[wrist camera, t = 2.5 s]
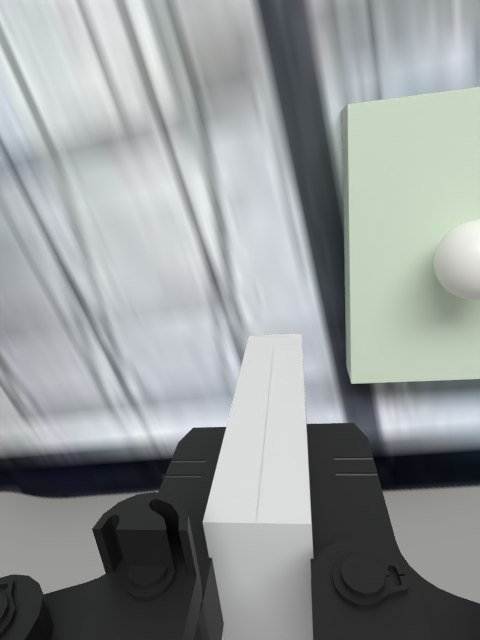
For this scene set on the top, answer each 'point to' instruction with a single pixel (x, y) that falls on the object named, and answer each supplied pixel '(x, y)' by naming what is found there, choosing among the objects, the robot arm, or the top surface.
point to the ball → (460, 261)
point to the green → (408, 235)
